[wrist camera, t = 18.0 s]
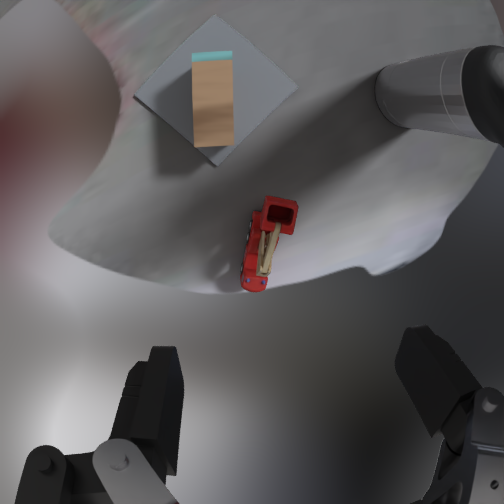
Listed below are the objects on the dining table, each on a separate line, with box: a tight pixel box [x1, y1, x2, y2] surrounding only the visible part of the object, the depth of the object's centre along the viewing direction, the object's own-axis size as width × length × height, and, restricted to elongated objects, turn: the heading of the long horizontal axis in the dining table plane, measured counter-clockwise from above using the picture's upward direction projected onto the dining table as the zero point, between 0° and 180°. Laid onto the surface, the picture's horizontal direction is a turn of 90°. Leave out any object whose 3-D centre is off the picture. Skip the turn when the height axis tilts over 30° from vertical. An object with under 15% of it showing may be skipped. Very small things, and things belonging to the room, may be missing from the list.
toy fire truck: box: [240, 196, 298, 292], centre depth 36 cm, size 3×14×10 cm, turn 169°
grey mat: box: [134, 14, 299, 166], centre depth 32 cm, size 14×14×1 cm
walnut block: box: [192, 51, 234, 147], centre depth 30 cm, size 6×4×10 cm
